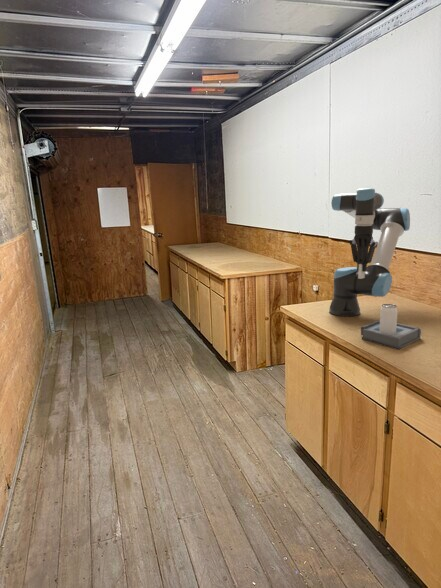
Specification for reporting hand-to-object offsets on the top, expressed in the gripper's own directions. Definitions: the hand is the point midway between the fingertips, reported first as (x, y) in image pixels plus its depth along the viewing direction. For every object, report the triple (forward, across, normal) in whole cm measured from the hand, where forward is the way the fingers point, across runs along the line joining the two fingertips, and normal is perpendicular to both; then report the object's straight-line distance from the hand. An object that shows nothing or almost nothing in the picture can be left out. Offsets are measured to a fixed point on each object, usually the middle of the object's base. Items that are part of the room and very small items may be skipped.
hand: (361, 278), depth 176 cm
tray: (+21, +17, -6) cm, 28 cm away
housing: (+22, +19, -6) cm, 30 cm away
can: (+20, +17, -6) cm, 28 cm away
